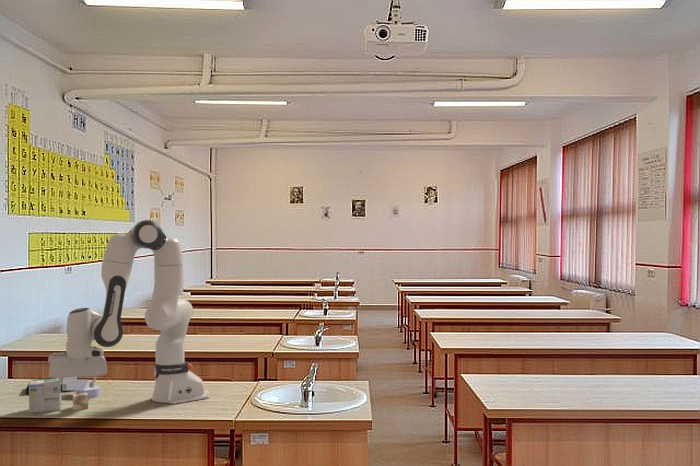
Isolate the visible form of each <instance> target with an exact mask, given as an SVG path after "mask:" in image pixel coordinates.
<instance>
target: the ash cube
mask: <svg viewBox="0 0 700 466" xmlns="http://www.w3.org/2000/svg"><path fill="white" fill-rule="evenodd" d="M72 409H73V411H78V410H86V409H87V410H88V409H89V399H88V394H87V393H79V394H76V393H73V394H72Z"/></svg>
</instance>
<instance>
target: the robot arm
mask: <svg viewBox="0 0 700 466" xmlns="http://www.w3.org/2000/svg"><path fill="white" fill-rule="evenodd" d="M140 249H149V250H151V252H152V253H153V257H154V259H153V260H154V262H153V263H154V267H153V269H154V275H153V277H154V283H153V284H154V286H153V291H152V296H151V301H150V303H149V305H148V307H147V309H146V311H145V312H144V321H145V323H146V325H147V326H148V328H150V329H152V330H155V331H160V332H159V333H160V334H159V336H158V338H157V340H156V342H155V363H154V368H153V370H154V371H153V372H154V387H153V393H152V397H151V400H152V401H153V402H157V403H161V404H162V403H165V404H181V403H187V402H193V401H198V400H205V399H209V398H210V397H211V392H210V391H209V390H207V389H205V384H204V382H203V379H202V378H201V377H199V376H198V375H196V374H195V373H193V372H192V371H191V369H193V364H192V363H189V362H187V361H185V344H186V343H185V342H186V336H187V331H188V327H189V322H190V321H191V318H192V317H193V316H194V315H193V314H194V308H193V305H192V303H190V301H188V300H187V299H184V298H179V296H180V292H181V290H182V288H183V286H184V258H183V257H184V256H183V249H182V245H181V242H180V240H178V239H177V238H175V237H172V236H166V234H165V232H164V231H163V229H162V228H161V226H160V224H159V223H157V222H156V221H154V220H151V219H143V220H139V221H137V223H135V224H134V226H133V227H132V228H131V229H130V230H129V232H127V233H123V232H119V233H115V234H112V235H111V237H110V238H109V240H108V242H107V244H106V247H105V250H104V254H103V257H102V261H101V262H102V263H101V279H102V281H103V285H104V287H105V295H106V296H105V301H104V308H103V313H102V314H101V313H98V312H96V311H94V310H92V309H91V308H89V307H80V308H75V309H73V310H71V311H70V312H69V313H68V316H67V320H66V337H67V340H66V343H65V348H66V349H65V352H64V351H61V352H52V354H49V355H48V361H47V363H48V364H49V371H48V377H49V379H53V378H59V381H60V383H61V384H62V390H64V389H67V384H64V383H63V378H67V377H78V378H80V377H92V380H91V381H90V382H89V388H92V387H94V385H95V382H96V381H97V380H98V376H105V375H107V373H108V367H107V365H108V364H107V360H106V358H105V356H104V353H105V351H104V349H103V348H102V347H104V348H111V347H115V346H116V345H117V344H119V343H120V342H121V340H122V338H123V336H124V329H123V324H122V320H121V319H122V312H123V306H124V305H123V304H124V300H125V294H126V290H127V286H128V282H129V280H130V277H131V273H132V269H133V265H134V260H135V256H136V253H137V251H139V250H140ZM93 341H95V342H96V343H97V344H98V345H99V346H100V347H98V346H94V345H92V342H93Z"/></svg>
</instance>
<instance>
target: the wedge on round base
mask: <svg viewBox="0 0 700 466" xmlns="http://www.w3.org/2000/svg"><path fill="white" fill-rule="evenodd" d="M89 382H91V380H89V379H79V378H78V379H68V380H67V382H66V384H67V389H64V390H76V391H75V392H76V393H75V394H79V393H87V394H88V400H90V399H95V398H98V397H100V396H101V386H100V385H96V384H94V387H92V388H89Z"/></svg>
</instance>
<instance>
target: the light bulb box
mask: <svg viewBox="0 0 700 466" xmlns="http://www.w3.org/2000/svg"><path fill="white" fill-rule="evenodd" d="M48 379H49V380H41V379H37V380H38V381H31V380H30V381H31V382H30V381H29V382H30V384H29V383H28V384H29V395H28V410H29V411H28V413H29V414H32V413H34V414H35V413H44V412H54V411H61V408H62V392H61V383H60V381H59V379H53V378H48Z"/></svg>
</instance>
